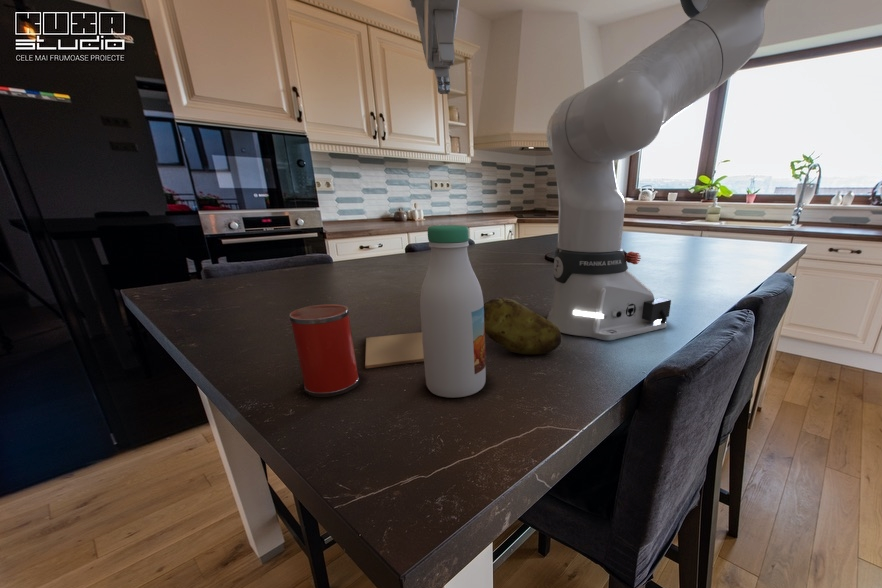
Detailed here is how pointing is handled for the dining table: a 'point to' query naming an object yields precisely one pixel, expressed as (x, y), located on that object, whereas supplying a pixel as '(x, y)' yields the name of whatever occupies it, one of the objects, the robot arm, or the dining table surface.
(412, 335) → the cork mat
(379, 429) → the dining table surface
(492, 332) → the potato
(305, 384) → the tomato tin
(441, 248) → the milk bottle
